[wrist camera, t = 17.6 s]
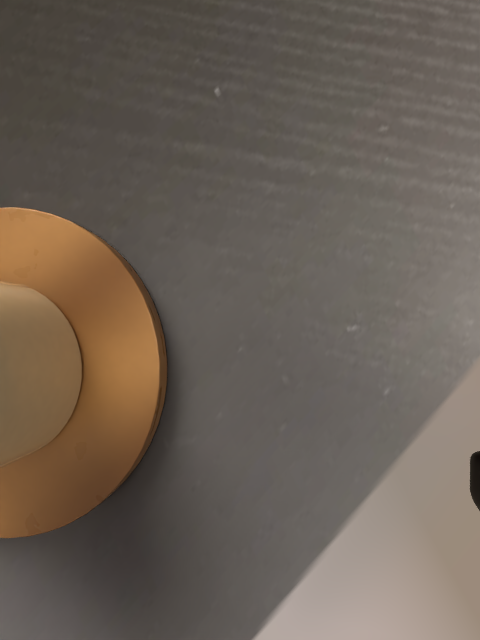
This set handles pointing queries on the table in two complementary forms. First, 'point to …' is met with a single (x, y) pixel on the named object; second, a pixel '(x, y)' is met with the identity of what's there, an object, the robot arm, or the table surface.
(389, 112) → the table surface
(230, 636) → the table surface
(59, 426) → the lidded mug
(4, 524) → the disc
